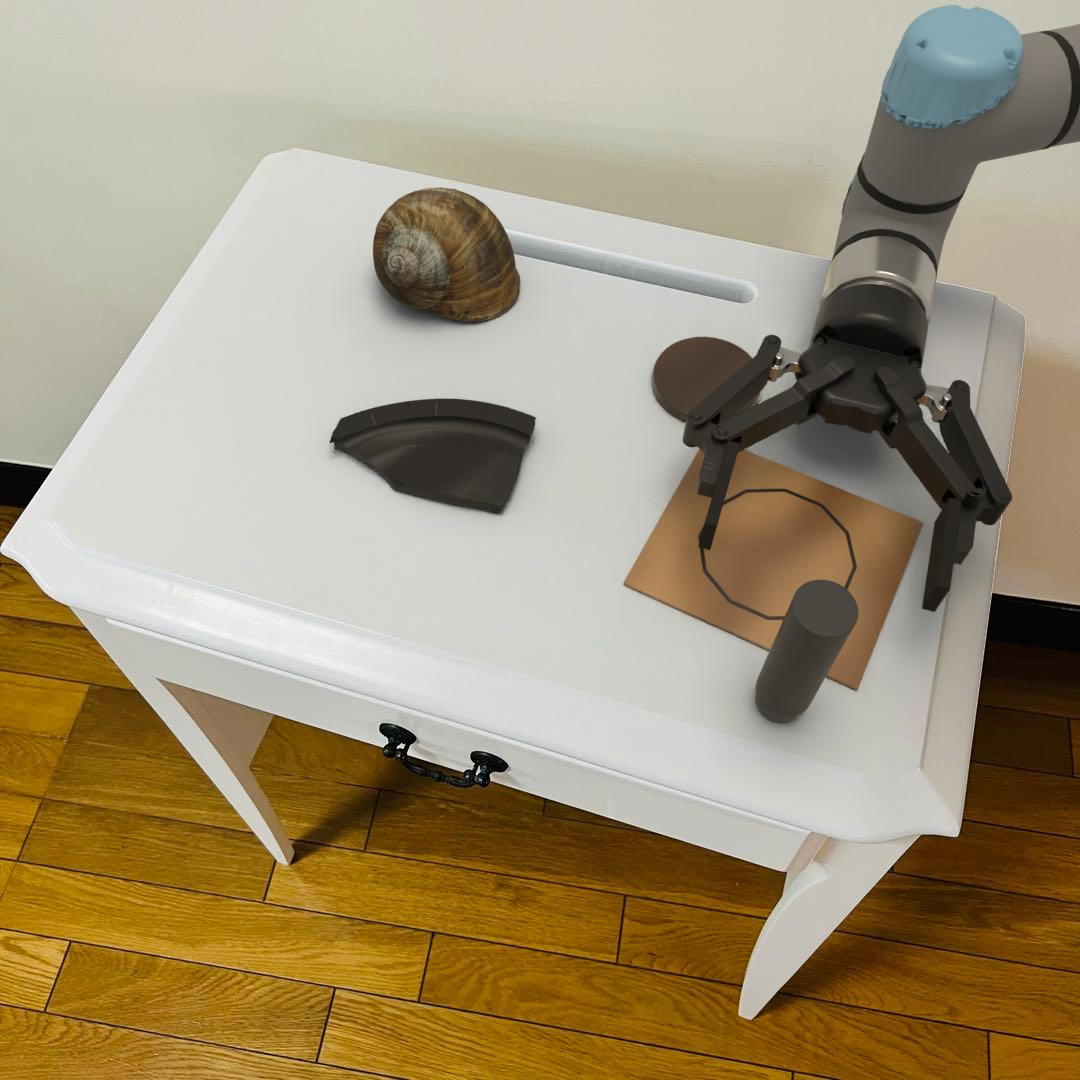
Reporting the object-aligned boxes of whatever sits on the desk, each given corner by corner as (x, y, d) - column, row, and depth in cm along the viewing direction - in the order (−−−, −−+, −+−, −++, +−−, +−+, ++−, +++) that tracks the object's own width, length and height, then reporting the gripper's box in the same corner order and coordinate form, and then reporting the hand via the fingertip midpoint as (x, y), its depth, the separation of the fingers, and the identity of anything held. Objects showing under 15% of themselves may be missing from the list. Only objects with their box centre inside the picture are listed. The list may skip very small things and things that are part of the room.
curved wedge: (364, 386, 78) (361, 371, 76) (539, 428, 76) (539, 413, 74) (319, 472, 73) (315, 458, 72) (504, 519, 71) (503, 505, 70)
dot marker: (814, 691, 65) (867, 595, 54) (794, 737, 63) (846, 647, 53) (762, 668, 65) (805, 569, 55) (742, 712, 64) (782, 619, 54)
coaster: (775, 368, 79) (777, 359, 78) (735, 442, 75) (737, 433, 74) (678, 331, 81) (679, 322, 80) (634, 401, 77) (635, 392, 76)
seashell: (358, 310, 82) (343, 230, 75) (406, 234, 86) (396, 152, 80) (493, 347, 80) (490, 268, 73) (534, 267, 84) (535, 185, 78)
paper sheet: (922, 524, 71) (924, 521, 71) (856, 690, 65) (858, 688, 64) (706, 437, 75) (707, 433, 75) (623, 584, 69) (623, 582, 68)
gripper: (1033, 399, 74) (1010, 655, 63) (690, 317, 78) (612, 544, 67) (1081, 323, 68) (1063, 594, 57) (705, 238, 72) (621, 475, 61)
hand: (819, 568), depth 62 cm, fingers open, 13 cm apart
